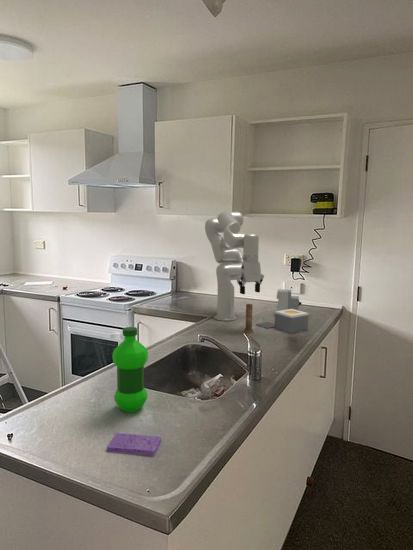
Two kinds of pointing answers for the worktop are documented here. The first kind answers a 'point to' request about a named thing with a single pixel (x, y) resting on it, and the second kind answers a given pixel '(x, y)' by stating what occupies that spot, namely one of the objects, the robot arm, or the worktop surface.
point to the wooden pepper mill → (248, 319)
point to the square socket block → (291, 321)
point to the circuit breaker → (287, 300)
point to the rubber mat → (266, 325)
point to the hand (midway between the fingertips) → (249, 292)
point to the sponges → (134, 444)
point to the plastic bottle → (130, 372)
